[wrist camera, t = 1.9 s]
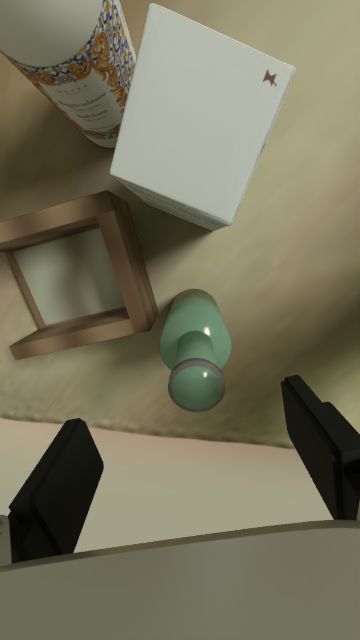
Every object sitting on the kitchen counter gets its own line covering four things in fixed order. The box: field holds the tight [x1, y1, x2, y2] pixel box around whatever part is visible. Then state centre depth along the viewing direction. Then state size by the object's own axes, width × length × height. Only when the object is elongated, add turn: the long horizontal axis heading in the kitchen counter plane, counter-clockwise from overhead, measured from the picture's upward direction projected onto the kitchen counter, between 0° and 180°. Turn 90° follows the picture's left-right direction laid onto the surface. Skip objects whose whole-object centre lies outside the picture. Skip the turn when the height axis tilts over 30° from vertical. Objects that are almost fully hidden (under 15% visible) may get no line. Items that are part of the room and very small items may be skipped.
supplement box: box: [110, 3, 296, 231], centre depth 18 cm, size 7×7×13 cm
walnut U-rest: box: [0, 190, 158, 360], centre depth 24 cm, size 14×12×6 cm
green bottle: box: [159, 289, 231, 412], centre depth 21 cm, size 6×6×15 cm
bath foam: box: [0, 0, 136, 148], centre depth 12 cm, size 7×7×20 cm
